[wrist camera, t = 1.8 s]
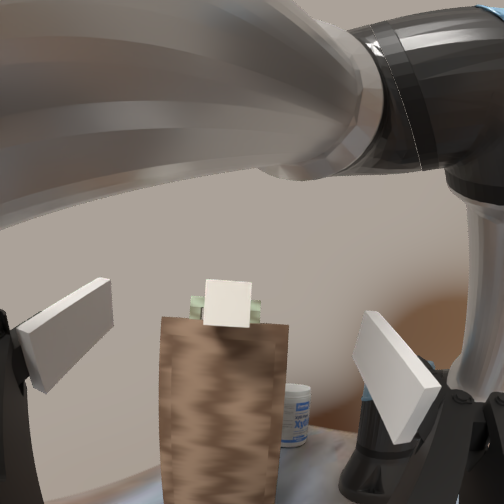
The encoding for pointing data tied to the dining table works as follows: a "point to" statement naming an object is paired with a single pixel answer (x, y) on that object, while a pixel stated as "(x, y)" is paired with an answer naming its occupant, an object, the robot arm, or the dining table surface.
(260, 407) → the shelf
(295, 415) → the supplement tub
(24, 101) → the robot arm
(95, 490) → the dining table surface
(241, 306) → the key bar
